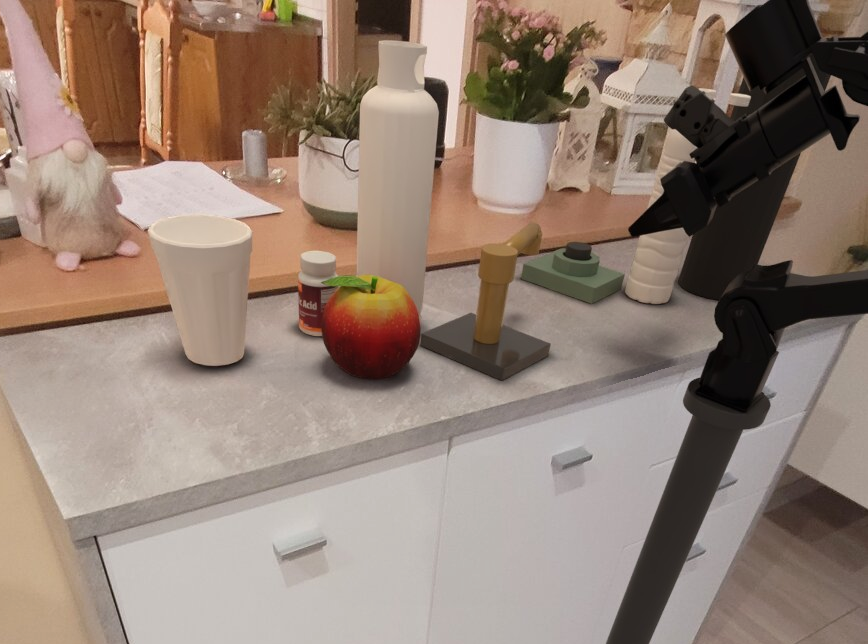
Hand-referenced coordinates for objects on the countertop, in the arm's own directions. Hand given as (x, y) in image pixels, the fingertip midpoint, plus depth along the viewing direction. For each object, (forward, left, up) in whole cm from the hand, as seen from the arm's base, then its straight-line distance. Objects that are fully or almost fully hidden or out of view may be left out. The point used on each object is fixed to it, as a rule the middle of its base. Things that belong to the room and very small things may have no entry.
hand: (630, 232), depth 82 cm
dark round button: (+14, -16, -9) cm, 23 cm away
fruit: (+15, +27, -13) cm, 34 cm away
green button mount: (+14, -16, -13) cm, 25 cm away
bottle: (+21, +17, -13) cm, 30 cm away
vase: (-1, -33, -13) cm, 35 cm away
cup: (+28, +38, -13) cm, 49 cm away
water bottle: (+3, -21, -13) cm, 25 cm away
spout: (+10, +8, -5) cm, 14 cm away
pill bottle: (+26, +24, -13) cm, 38 cm away
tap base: (+9, +13, -13) cm, 21 cm away
